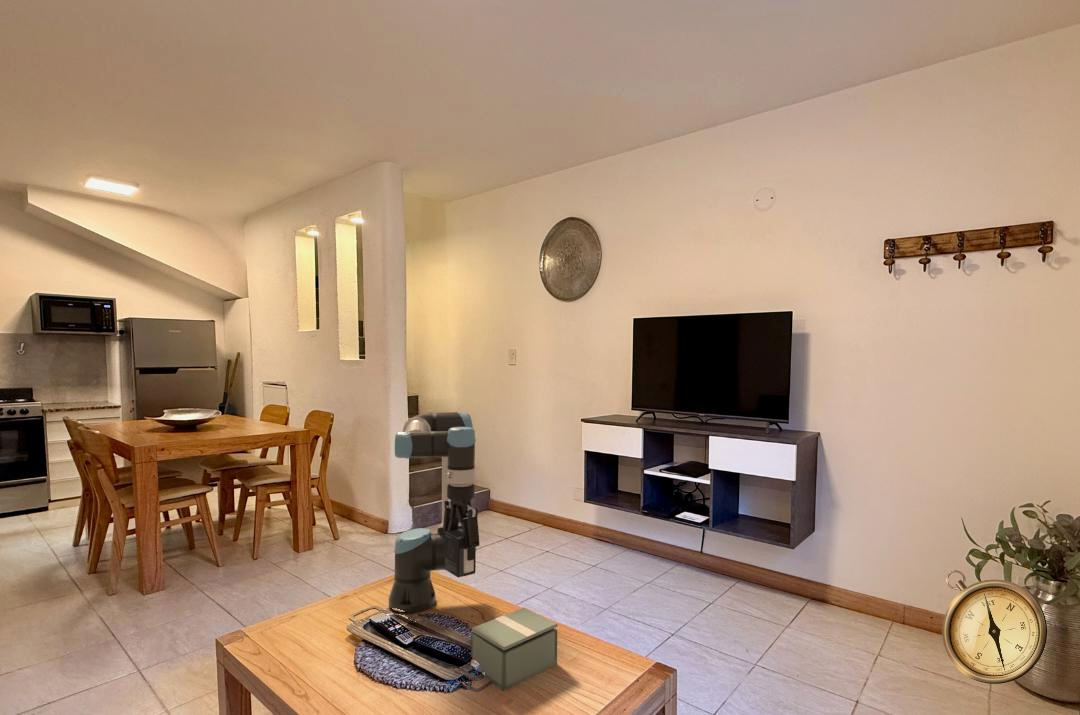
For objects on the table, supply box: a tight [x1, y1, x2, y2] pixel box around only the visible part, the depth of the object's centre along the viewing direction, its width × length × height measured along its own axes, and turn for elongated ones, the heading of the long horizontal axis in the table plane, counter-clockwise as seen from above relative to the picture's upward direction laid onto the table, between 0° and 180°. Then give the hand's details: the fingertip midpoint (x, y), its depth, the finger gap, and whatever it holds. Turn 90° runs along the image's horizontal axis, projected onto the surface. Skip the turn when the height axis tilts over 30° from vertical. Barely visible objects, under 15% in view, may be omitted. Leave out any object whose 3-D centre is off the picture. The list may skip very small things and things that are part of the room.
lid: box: [471, 607, 558, 650], centre depth 139 cm, size 14×18×1 cm
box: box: [444, 529, 477, 578], centre depth 145 cm, size 8×6×11 cm
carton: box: [470, 628, 558, 692], centre depth 139 cm, size 14×18×9 cm
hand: (460, 566), depth 144 cm, fingers closed on box, 8 cm apart
